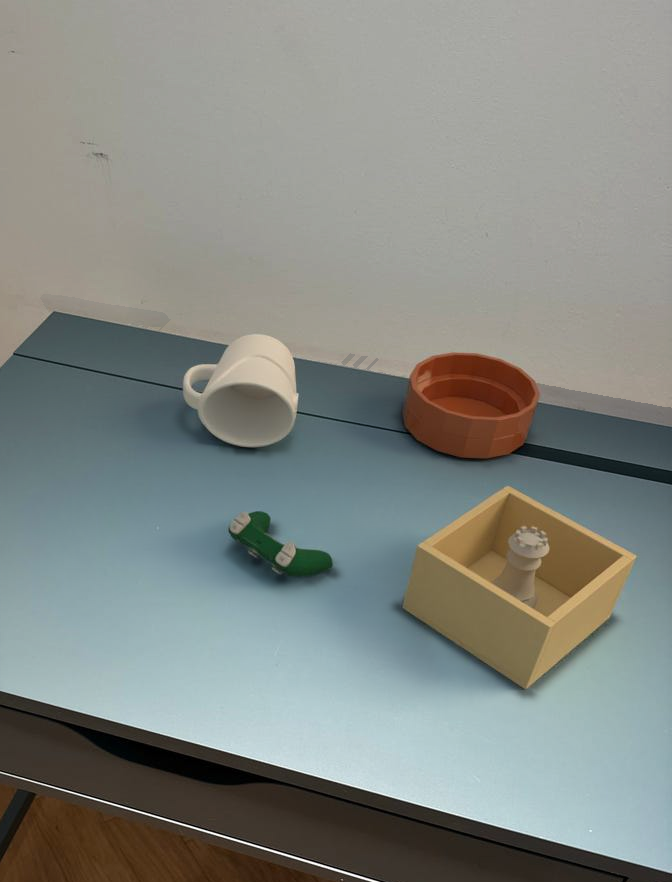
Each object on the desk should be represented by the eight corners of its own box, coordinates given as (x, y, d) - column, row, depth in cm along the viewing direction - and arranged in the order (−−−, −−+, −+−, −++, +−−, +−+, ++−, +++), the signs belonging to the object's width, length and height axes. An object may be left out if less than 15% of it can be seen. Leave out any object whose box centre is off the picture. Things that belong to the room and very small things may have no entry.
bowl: (451, 380, 112) (461, 340, 109) (550, 430, 106) (563, 388, 102) (377, 422, 106) (385, 380, 103) (477, 477, 100) (489, 434, 96)
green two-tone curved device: (243, 546, 94) (212, 530, 89) (265, 511, 93) (235, 494, 88) (315, 596, 89) (287, 582, 84) (339, 560, 88) (312, 544, 83)
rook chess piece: (520, 588, 87) (546, 516, 81) (542, 623, 84) (569, 550, 78) (472, 593, 86) (494, 520, 81) (492, 628, 83) (516, 556, 78)
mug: (298, 405, 108) (306, 338, 102) (290, 454, 101) (298, 385, 96) (189, 393, 109) (191, 326, 104) (175, 441, 103) (176, 372, 97)
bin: (488, 546, 92) (507, 484, 87) (609, 618, 85) (637, 555, 80) (402, 608, 86) (417, 545, 81) (525, 689, 79) (550, 627, 74)
